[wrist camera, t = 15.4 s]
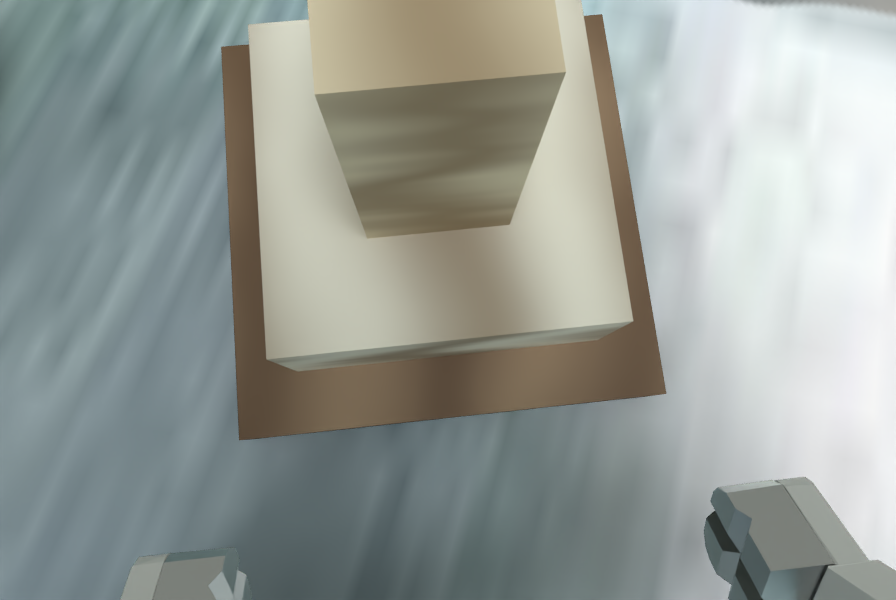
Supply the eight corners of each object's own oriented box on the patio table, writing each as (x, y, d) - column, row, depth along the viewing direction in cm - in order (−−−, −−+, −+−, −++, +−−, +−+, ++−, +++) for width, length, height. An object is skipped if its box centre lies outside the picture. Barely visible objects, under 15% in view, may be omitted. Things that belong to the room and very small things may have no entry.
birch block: (367, 238, 18) (314, 94, 10) (355, 106, 19) (298, -123, 11) (509, 224, 18) (566, 72, 10) (492, 94, 19) (532, -142, 11)
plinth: (255, 438, 23) (193, 443, 17) (237, 76, 25) (178, -30, 19) (646, 396, 23) (718, 386, 17) (589, 45, 26) (634, -67, 20)
